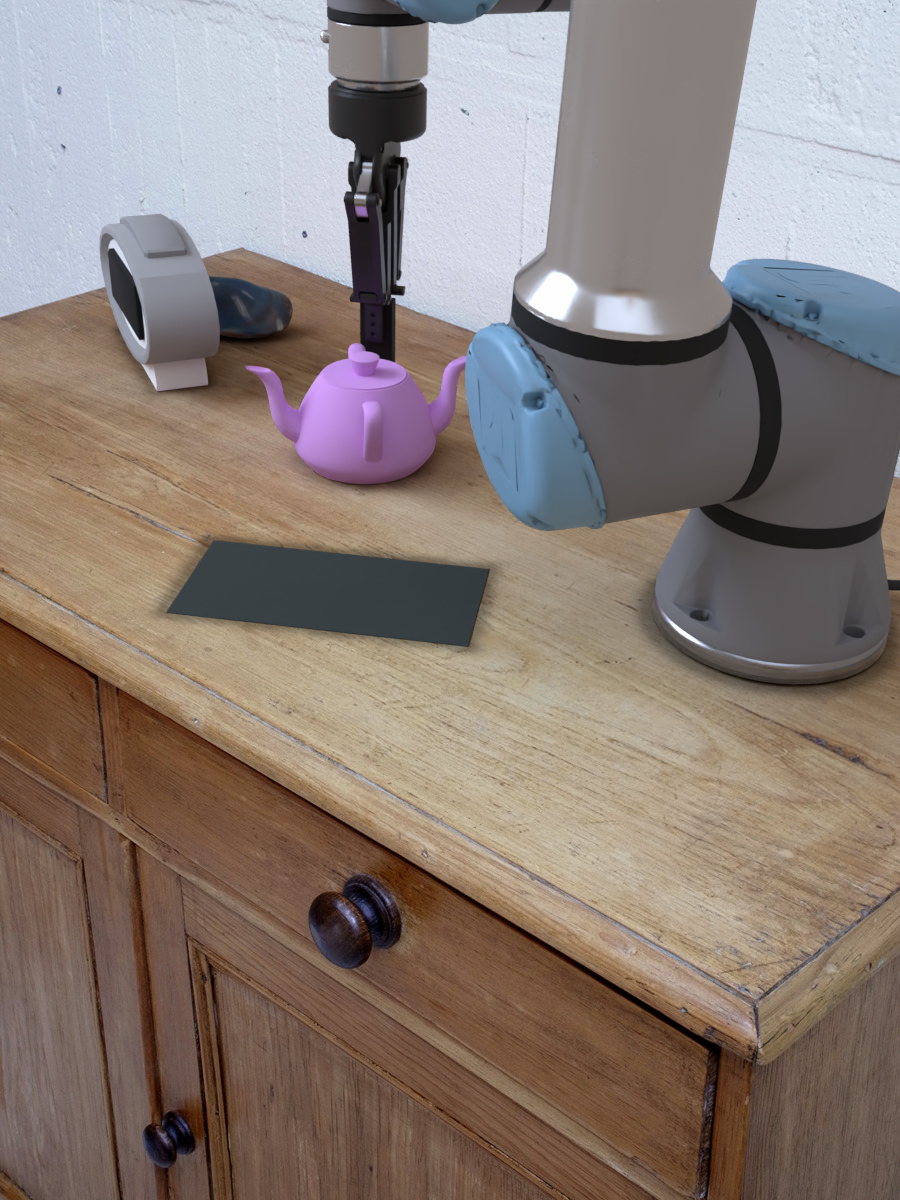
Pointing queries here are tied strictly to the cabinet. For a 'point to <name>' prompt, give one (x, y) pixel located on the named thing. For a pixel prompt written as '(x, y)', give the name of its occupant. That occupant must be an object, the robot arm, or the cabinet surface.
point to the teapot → (364, 418)
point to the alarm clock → (160, 298)
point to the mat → (334, 592)
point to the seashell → (249, 308)
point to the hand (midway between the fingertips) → (377, 373)
